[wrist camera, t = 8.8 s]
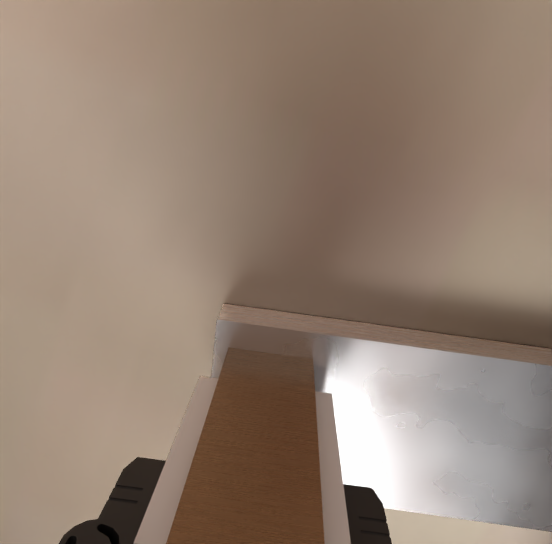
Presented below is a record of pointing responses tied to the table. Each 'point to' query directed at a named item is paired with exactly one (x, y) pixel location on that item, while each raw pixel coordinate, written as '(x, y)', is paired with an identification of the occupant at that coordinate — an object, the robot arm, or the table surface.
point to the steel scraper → (365, 427)
